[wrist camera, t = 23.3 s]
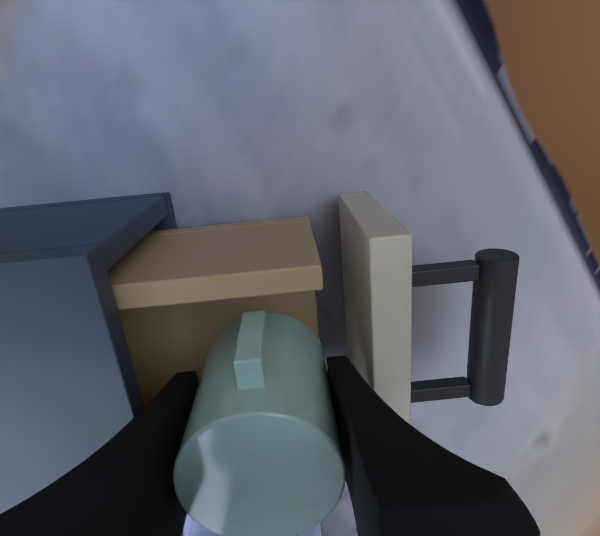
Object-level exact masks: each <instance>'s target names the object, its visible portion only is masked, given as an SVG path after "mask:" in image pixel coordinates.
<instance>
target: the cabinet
mask: <svg viewBox="0 0 600 536" xmlns="http://www.w3.org/2000/svg"><path fill="white" fill-rule="evenodd" d="M167 229H177V225H176V220H175V216H174V211H173V206H172V201H171V196H170V193H169V192H164V193H154V194H143V195H133V196H123V197H112V198H102V199H92V200H81V201H71V202H61V203H50V204H40V205H30V206H19V207H9V208H0V514H1V513H3V512H5V511H7V510H8V509H10V508H12V507H14V506H16V505H17V504H19V503H21V502H22V501H24V500H26V499H27V498H29V497H31V496H32V495H34V494H36V493H37V492H39V491H40V490H42V489H44V488H45V487H47V486H48V485H50V484H51V483H53V482H54V481H56V480H57V479H59V478H60V477H62V476H63V475H64V474H66V473H67V472H69V471H70V470H72V469H73V468H74V467H76V466H77V465H79V464H80V463H82V462H83V461H84V460H85V459H87V458H88V457H89V456H91V455H92V454H93V453H94V452H96V451H97V450H98V449H99V448H101V447H102V446H103V445H104V444H105V443H107V442H108V441H109V440H110V439H111V438H112V437H114V436H115V435H116V434H117V433H118V432H119V431H120V430H121V429H122V428H123V427H124V426H125V425H126V424H127V423H129V422H130V421H131V420H132V419H133V418H134V417H135V416H136V415H137V414H138V413H139V412H140V411H141V410H142V409H143V408H144V407H145V406H144V402H143V398H142V395H141V391H140V388H139V384H138V381H137V377H136V373H135V370H134V366H133V363H132V359H131V355H130V352H129V348H128V345H127V341H126V337H125V334H124V330H123V327H122V323H121V319H120V316H119V312H118V309H117V305H116V301H115V298H114V294H113V291H112V287H111V284H110V280H109V276H108V273H107V271H108V270H109V269H110V268H111V267H112V266H113V265H114V264H115V263H116V262H117V261H119V260H120V259H121V258H122V257H123V256H124V255H125V254H126V253H127V252H128V251H129V250H130V249H131V248H132V247H134V246H135V245H136V244H137V243H138V242H139V241H140V240H141V239H142V238H143V237H144V236H145V235H146V234H147V233H148V232H150V231H156V230H167ZM186 517H187V513H186ZM186 517H185V521H186ZM185 521H184V525H185ZM184 525H183V530H184ZM183 530H182V534H183ZM182 534H181V536H182Z"/></svg>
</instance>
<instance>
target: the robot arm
mask: <svg viewBox="0 0 600 536" xmlns="http://www.w3.org/2000/svg"><path fill="white" fill-rule="evenodd" d="M327 365H328V376H329V381H330V387H331V392H332V397H333V401H334V407H335V412H336V418H337V423H338V429H339V434H340V440H341V445H342V451H343V456H344V462H345V468H346V482H347V486H348V490H349V493H350V497H351V501H352V506H353V510H354V515H355V520H356V526H357V532H358V536H540V530H539V528H538V526H537V524H536V521H535V520H534V518H533V517H532V515H531V513H530V512H529V510H528V509H527V507H526V505H525V504H524V503H523V501H522V500H521V499H520V497H519V496H518V495H517V493H516V492H515V491H514V490H513V488H512V487H511V486H510V485H509V483H508V482H507V481H506V479H505V478H503V477H500V476H498V475H496V474H494V473H492V472H489V471H487V470H485V469H483V468H481V467H479V466H476V465H474V464H472V463H470V462H468V461H466V460H464V459H463V458H461V457H459V456H457V455H455V454H453V453H452V452H450V451H448V450H446V449H445V448H443V447H441V446H440V445H438V444H437V443H435V442H434V441H432V440H431V439H429V438H428V437H426V436H425V435H423V434H422V433H420V432H419V431H418V430H416V429H415V428H414V427H413V426H411V425H410V424H409V423H408V422H406V421H405V420H404V419H403V418H402V417H400V416H399V415H398V414H397V413H396V412H395V411H394V410H393V409H392V408H391V407H390V406H389V405H388V404H387V403H385V402H384V401H383V399H382V398H381V397H380V396H379V395H378V394H377V393H376V392H375V391H374V390H373V389H372V388H371V386H370V385H369V384H368V383H367V382H366V381H365V379H364V378H363V377H362V376H361V374H360V373H359V372H358V371H357V369H356V368H355V366H354V365H353V364H352V362H351V361H350V359H349V358H348V357H347V356H336V357H327ZM197 386H198V378H197V374H196V371H187V372H177V373H176V374H175V375H174V376H173V377H172V378H171V379H170V380H169V381H168V382H167V384H166V385H165V386H164V387H163V388H162V389H161V390H160V391H159V392H158V393H157V394H156V395H155V396H154V397H153V399H152V400H151V401H150V402H149V403H148V404H147V405H146V406H145V407H144V408H143V409H142V410H141V411H140V412H139V413H138V414H137V415H136V416H135V417H134V418H133V419H132V420H131V421H130V422H129V423H127V424H126V425H125V426H124V427H123V428H122V429H121V430H120V431H119V432H118V433H117V434H116V435H115V436H114V437H112V438H111V439H110V440H109V441H108V442H107V443H105V444H104V445H103V446H102V447H101V448H99V449H98V450H97V451H96V452H94V453H93V454H92V455H91V456H89V457H88V458H87V459H85V460H84V461H83V462H82V463H80V464H79V465H77V466H76V467H74V468H73V469H72V470H70V471H69V472H67V473H66V474H64V475H63V476H62V477H60V478H59V479H57V480H56V481H54V482H53V483H51V484H50V485H48V486H47V487H45V488H44V489H42V490H40V491H39V492H37V493H36V494H34V495H32V496H31V497H29V498H27V499H26V500H24V501H22V502H21V503H19V504H17V505H16V506H14V507H12V508H10V509H8V510H7V511H5V512H3V513H1V514H0V536H181V534H182V530H183V525H184V521H185V517H186V513H187V512H186V511H185V510H184V508H183V507H182V506H181V504H180V502H179V500H178V498H177V495H176V493H175V489H174V483H173V469H174V463H175V460H176V456H177V453H178V450H179V446H180V443H181V440H182V436H183V433H184V430H185V426H186V423H187V420H188V416H189V413H190V409H191V406H192V403H193V399H194V396H195V393H196V389H197ZM183 532H184V536H222V535H219V534H216V533H214V532H212V531H210V530H208V529H206V528H205V527H203V526H201V525H200V524H199V523H197V522H196V521H195V520H194V519H192V518H191V517H190V516H189V515H188V514H187V517H186V521H185V525H184V530H183ZM298 536H322V534H321V524H320V522H319V523H318V524H317V525H315V526H314V527H312V528H310V529H309V530H306V531H304V532H302V533H300V534H298Z"/></svg>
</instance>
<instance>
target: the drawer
mask: <svg viewBox="0 0 600 536" xmlns="http://www.w3.org/2000/svg"><path fill="white" fill-rule="evenodd" d="M339 212H340V230H341V248H342V267H343V285H344V303H345V321H346V340H347V357H348V358H349V359H350V361H351V362H352V364H353V365H354V366H355V368H356V369H357V371H358V372H359V373H360V374H361V376H362V377H363V378H364V379H365V381H366V382H367V383H368V384H369V385H370V386H371V388H372V389H373V390H374V391H375V392H376V393H377V394H378V395H379V396H380V397H381V398H382V399H383V401H384V402H385V403H387V404H388V405H389V406H390V407H391V408H392V409H393V410H394V411H395V412H396V413H397V414H398V415H399V416H400V417H402V418H403V419H404V420H405V421H406V422H408V423H409V424H410V408H411V403H413V402H423V401H432V400H442V399H452V398H462V397H469V399H471V400H472V401H473V402H475V403H477V404H480V405H484V406H495V405H498V404H500V403H501V402H502V401H503V399H504V391H505V382H506V373H507V364H508V355H509V346H510V337H511V328H512V319H513V310H514V301H515V292H516V283H517V274H518V265H519V256H518V254H516V253H515V252H512V251H509V250H504V249H484V250H480V251H478V252H477V253H476V254H475V261H474V260H465V261H455V262H444V263H434V264H424V265H414V266H412V234H411V233H410V232H409V231H408V230H407V229H406V228H405V227H404V226H403V225H402V224H400V223H399V222H398V221H397V220H396V219H395V218H394V217H393V216H392V215H391V214H390V213H389V212H388V211H387V210H386V209H385V208H384V207H383V206H382V205H381V204H379V203H378V202H377V201H376V200H375V199H374V198H373V197H372V196H371V195H370V194H369V193H368V192H366V191H364V192H354V193H343V194H339ZM107 273H108V276H109V280H110V284H111V287H112V291H113V294H114V298H115V301H116V305H117V309H118V312H119V316H120V319H121V323H122V327H123V330H124V334H125V337H126V341H127V345H128V348H129V352H130V355H131V359H132V363H133V366H134V370H135V373H136V377H137V381H138V384H139V388H140V391H141V395H142V398H143V402H144V406H146V405H147V404H148V403H149V402H150V401H151V400H152V399H153V397H154V396H155V395H156V394H157V393H158V392H159V391H160V390H161V389H162V388H163V387H164V386H165V385H166V384H167V382H168V381H169V380H170V379H171V378H172V377H173V376H174V375H175V374H176V373H177V372H187V371H196V374H197V378H198V383H199V379H200V376H201V373H202V369H203V366H204V363H205V359H206V356H207V352H208V350H209V347H210V344H211V342H212V341H213V339H214V337H215V336H216V335H217V333H218V332H219V331H220V330H221V329H222V328H223V327H225V326H226V325H227V324H229V323H230V322H232V321H234V320H235V319H237V318H240V317H241V316H242V313H244V312H253V311H265V312H273V313H279V314H284V315H287V316H290V317H293V318H295V319H297V320H299V321H300V322H302V323H303V324H305V325H306V326H307V327H309V328H310V329H311V330H312V331H313V332H314V333H315V334H316V336H317V337H318V339H319V340H320V337H319V325H318V313H317V300H316V290H322V289H323V274H322V265H321V261H320V257H319V253H318V249H317V246H316V242H315V238H314V234H313V231H312V227H311V223H310V220H309V217H308V216H300V217H289V218H279V219H269V220H259V221H248V222H238V223H228V224H218V225H207V226H197V227H187V228H177V229H167V230H156V231H150V232H148V233H147V234H146V235H145V236H144V237H143V238H142V239H141V240H140V241H139V242H138V243H137V244H136V245H135V246H134V247H132V248H131V249H130V250H129V251H128V252H127V253H126V254H125V255H124V256H123V257H122V258H121V259H120V260H119V261H117V262H116V263H115V264H114V265H113V266H112V267H111V268H110V269H109V270H108V271H107ZM468 281H473V292H472V307H471V321H470V335H469V350H468V364H467V378H465V377H454V378H444V379H434V380H424V381H414V382H411V316H412V287H417V286H427V285H437V284H447V283H457V282H468Z"/></svg>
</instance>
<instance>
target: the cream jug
mask: <svg viewBox="0 0 600 536" xmlns="http://www.w3.org/2000/svg"><path fill="white" fill-rule="evenodd" d="M345 481H346V468H345V462H344V456H343V451H342V445H341V440H340V434H339V429H338V423H337V418H336V412H335V407H334V401H333V397H332V392H331V387H330V381H329V376H328V368H327V363H326V357H325V352H324V349H323V346H322V344H321V342H320V340H319V339H318V337H317V336H316V334H315V333H314V332H313V331H312V330H311V329H310V328H309V327H307V326H306V325H305V324H303V323H302V322H300V321H299V320H297V319H295V318H293V317H290V316H287V315H284V314H279V313H273V312H265V311H253V312H244V313H242V316H241V317H240V318H237V319H235V320H234V321H232V322H230V323H229V324H227V325H226V326H225V327H223V328H222V329H221V330H220V331H219V332H218V333H217V335H216V336H215V337H214V339H213V341H212V342H211V344H210V347H209V350H208V352H207V356H206V359H205V363H204V366H203V369H202V373H201V376H200V379H199V383H198V386H197V389H196V393H195V396H194V399H193V403H192V406H191V409H190V413H189V416H188V420H187V423H186V426H185V430H184V433H183V436H182V440H181V443H180V446H179V450H178V453H177V456H176V460H175V463H174V469H173V483H174V489H175V493H176V495H177V498H178V500H179V502H180V504H181V506H182V507H183V508H184V510H185V511H186V512H187V514H188V515H189V516H190V517H191V518H192V519H194V520H195V521H196V522H197V523H199V524H200V525H201V526H203V527H205V528H206V529H208V530H210V531H212V532H214V533H216V534H219V535H222V536H298V534H300V533H302V532H304V531H306V530H309V529H310V528H312V527H314V526H315V525H317V524H318V523H319V522H321V521H322V520H323V519H325V518H326V517H327V516H328V515H329V514H330V513H331V511H332V510H333V509H334V508H335V506H336V505H337V503H338V501H339V499H340V498H341V495H342V492H343V490H344V486H345Z"/></svg>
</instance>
